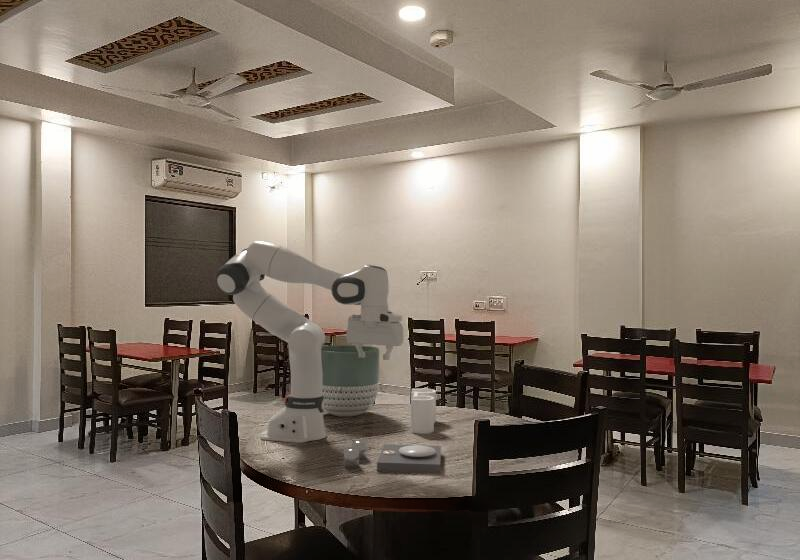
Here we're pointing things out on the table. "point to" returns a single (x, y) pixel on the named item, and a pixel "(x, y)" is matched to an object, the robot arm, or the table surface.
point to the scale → (410, 459)
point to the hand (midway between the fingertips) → (373, 358)
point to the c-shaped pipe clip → (423, 410)
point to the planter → (349, 379)
